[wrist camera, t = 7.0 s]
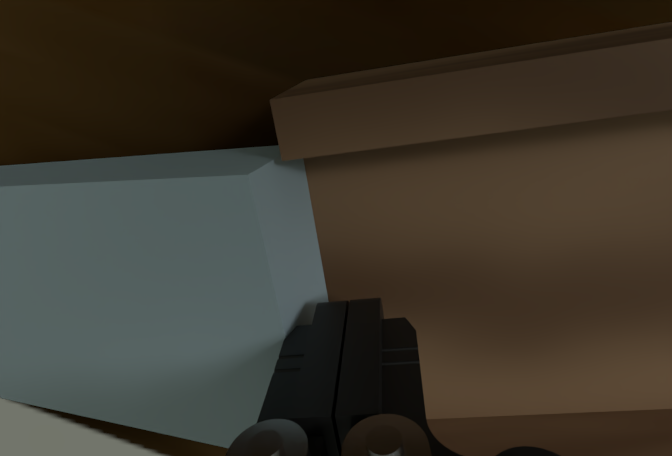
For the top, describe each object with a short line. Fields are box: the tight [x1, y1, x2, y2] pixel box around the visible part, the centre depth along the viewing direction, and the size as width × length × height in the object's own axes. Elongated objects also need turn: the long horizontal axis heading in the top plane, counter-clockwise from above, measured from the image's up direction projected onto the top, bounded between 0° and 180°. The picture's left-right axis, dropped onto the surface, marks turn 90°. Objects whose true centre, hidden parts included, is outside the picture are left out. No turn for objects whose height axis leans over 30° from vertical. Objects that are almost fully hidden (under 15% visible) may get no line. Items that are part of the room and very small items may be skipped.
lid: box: [0, 145, 329, 448], centre depth 13 cm, size 8×12×2 cm, turn 98°
